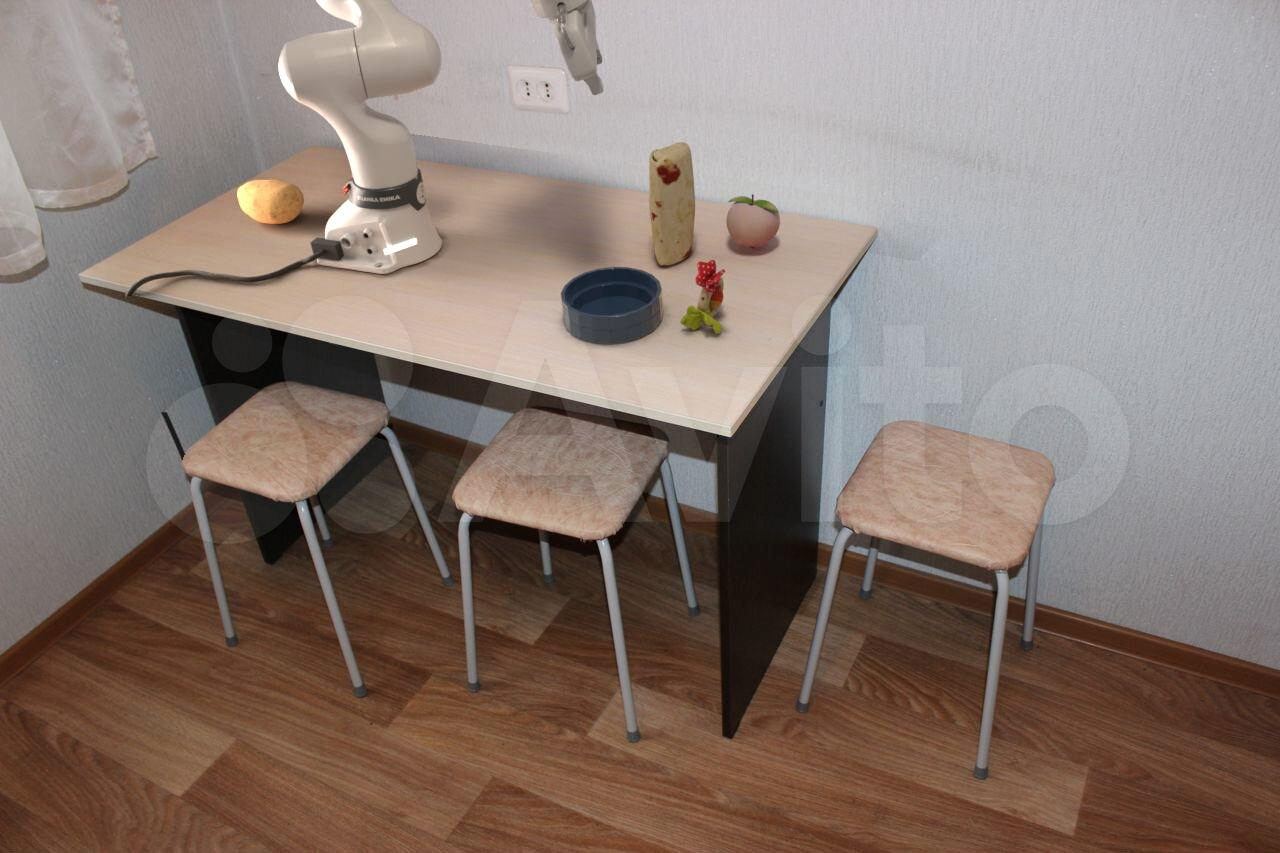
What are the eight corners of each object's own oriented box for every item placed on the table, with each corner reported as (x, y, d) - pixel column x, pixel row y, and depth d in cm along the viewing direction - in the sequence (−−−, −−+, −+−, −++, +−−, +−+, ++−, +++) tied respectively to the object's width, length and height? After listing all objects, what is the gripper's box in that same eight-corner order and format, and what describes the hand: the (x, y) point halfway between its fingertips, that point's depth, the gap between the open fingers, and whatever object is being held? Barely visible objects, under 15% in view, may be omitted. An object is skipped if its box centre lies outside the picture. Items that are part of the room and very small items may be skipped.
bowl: (553, 342, 160) (550, 315, 157) (577, 292, 172) (574, 265, 169) (653, 347, 157) (651, 319, 154) (670, 295, 169) (668, 268, 166)
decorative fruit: (719, 256, 179) (718, 203, 173) (733, 235, 185) (732, 182, 179) (772, 263, 176) (773, 208, 170) (784, 241, 182) (785, 187, 176)
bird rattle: (693, 324, 166) (675, 332, 158) (700, 254, 163) (682, 258, 155) (730, 330, 164) (714, 337, 156) (738, 259, 161) (722, 263, 153)
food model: (676, 274, 175) (670, 161, 163) (643, 265, 178) (635, 154, 166) (705, 249, 181) (702, 139, 169) (673, 242, 184) (668, 132, 172)
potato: (265, 206, 208) (253, 168, 204) (321, 215, 203) (310, 176, 198) (231, 227, 201) (218, 188, 197) (288, 237, 196) (276, 197, 191)
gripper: (581, 12, 138) (619, 102, 147) (580, -45, 153) (616, 40, 162) (537, 30, 139) (578, 118, 149) (541, -29, 154) (578, 54, 163)
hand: (598, 77), depth 155 cm, fingers open, 8 cm apart
